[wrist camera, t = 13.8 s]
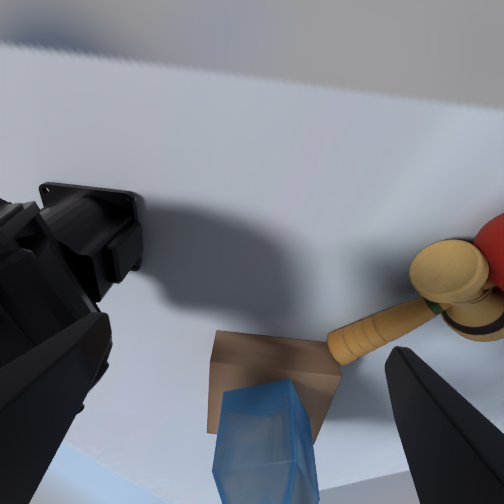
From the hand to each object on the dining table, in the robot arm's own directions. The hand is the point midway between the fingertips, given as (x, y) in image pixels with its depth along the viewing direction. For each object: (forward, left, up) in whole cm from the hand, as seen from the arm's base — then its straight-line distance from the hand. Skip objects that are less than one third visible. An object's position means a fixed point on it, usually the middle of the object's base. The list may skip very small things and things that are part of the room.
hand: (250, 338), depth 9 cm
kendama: (+14, -6, -14) cm, 20 cm away
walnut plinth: (+3, -19, -13) cm, 23 cm away
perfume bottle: (+3, -19, -10) cm, 21 cm away
